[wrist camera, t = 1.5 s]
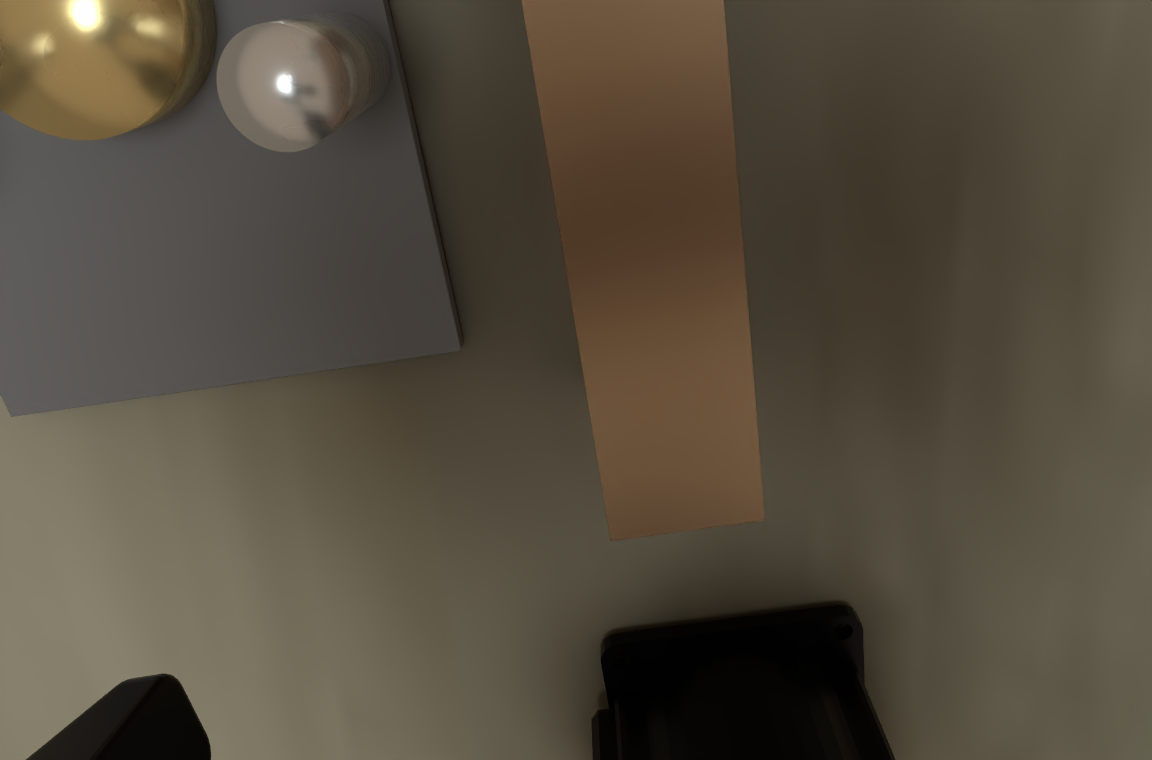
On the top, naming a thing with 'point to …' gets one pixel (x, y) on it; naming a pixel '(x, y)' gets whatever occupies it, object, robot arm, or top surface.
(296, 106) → the pair of rounded blocks
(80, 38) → the yellow-brown curved piece
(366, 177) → the mat
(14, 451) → the top surface
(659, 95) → the brown rectangular block
